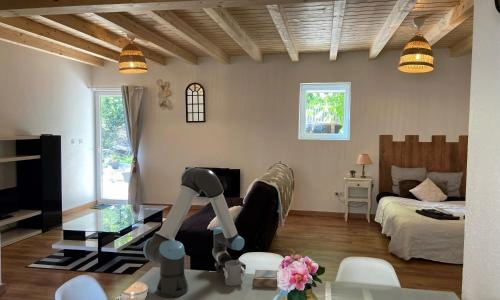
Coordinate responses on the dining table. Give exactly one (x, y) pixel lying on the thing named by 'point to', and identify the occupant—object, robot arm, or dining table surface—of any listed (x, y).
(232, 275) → the cup
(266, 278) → the plinth
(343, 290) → the dining table surface
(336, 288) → the dining table surface
